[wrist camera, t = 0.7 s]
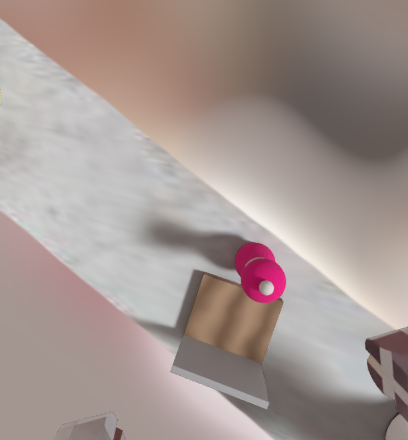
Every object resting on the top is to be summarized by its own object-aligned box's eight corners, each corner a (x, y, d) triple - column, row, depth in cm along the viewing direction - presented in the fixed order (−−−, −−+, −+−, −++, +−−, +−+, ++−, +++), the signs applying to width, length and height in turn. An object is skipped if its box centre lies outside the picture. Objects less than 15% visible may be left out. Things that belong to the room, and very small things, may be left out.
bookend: (281, 298, 51) (297, 326, 39) (258, 363, 52) (267, 409, 40) (204, 271, 52) (197, 290, 40) (183, 335, 53) (170, 372, 41)
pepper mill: (231, 272, 51) (232, 313, 31) (237, 237, 51) (242, 255, 31) (267, 279, 51) (292, 324, 31) (274, 243, 50) (303, 266, 30)
